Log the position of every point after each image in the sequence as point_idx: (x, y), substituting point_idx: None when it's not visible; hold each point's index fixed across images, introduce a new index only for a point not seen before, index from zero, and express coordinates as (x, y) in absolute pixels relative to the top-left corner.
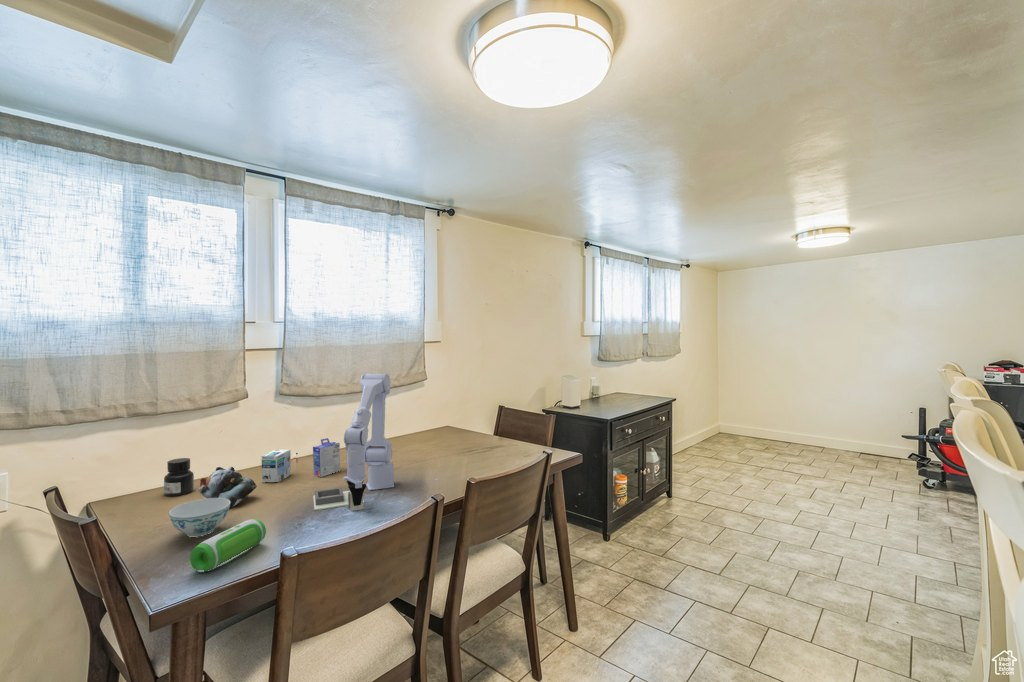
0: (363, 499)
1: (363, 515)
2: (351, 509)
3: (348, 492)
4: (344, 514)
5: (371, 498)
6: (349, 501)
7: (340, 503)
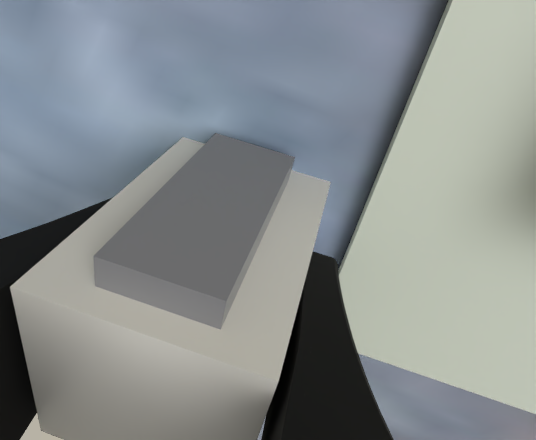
0: (388, 363)
1: (2, 180)
2: (174, 150)
3: (175, 289)
4: (95, 23)
5: (397, 414)
6: (174, 188)
7: (500, 119)
